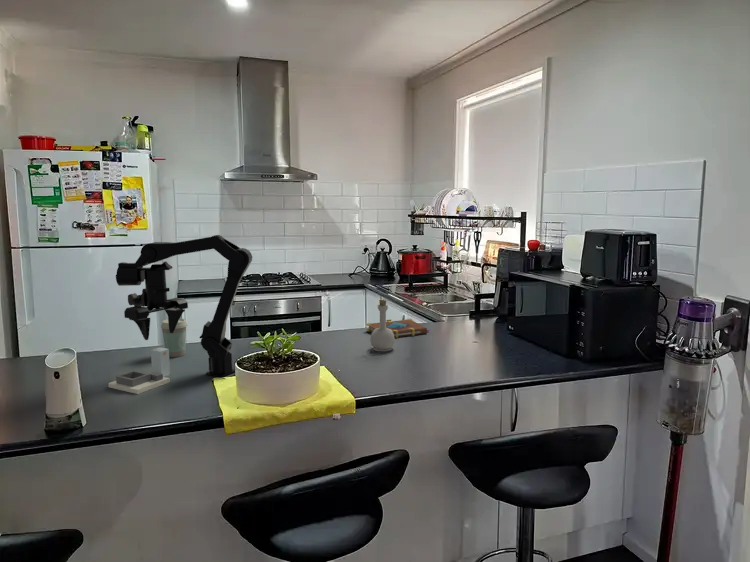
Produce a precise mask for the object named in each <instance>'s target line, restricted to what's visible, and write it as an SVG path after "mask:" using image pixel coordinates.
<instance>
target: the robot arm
mask: <svg viewBox="0 0 750 562" xmlns="http://www.w3.org/2000/svg"><path fill="white" fill-rule="evenodd" d="M140 249H141V250H140V255H139V257H138V258H137V260H136V261H135V262H125V261H124V262H119V263H117V269H116V275H115V280H116V283H117V285H118V286H119V287H120V286H121V287H123V286H124V287H126V286H127V287H128V286H141V285H142V283H143V282H144V284H145V288H142V292H141V294H137V293H136V292H133V293H130V294H128V295H127V302H128V305H130V306H129V307H126V308H125V309H124V315H123V316H124V318H125V319H129V321H133V322H134V323H135V324H136V326H137V327H138V329H139V330H140V333H141V335H142V337H143V340H144V341H148V340H149V339H150V337H149V336H150V328H151V326H150V325H151V317H149V316H150V314H153V313H156V312H161V311H164V312H165V313H166V314H167V319H168V323H169V331H170V333H173V332H174V330H175V328H176V325H177V323H178V321H179V319H180V318H181V317H182V314H183V313H184V312H185V311H186V309H189V302H188V301H187V300H186V299H185V298H177V297H175V298H174V297H173V298H169V299H168V293H167V292H170V287H167V279H166V278H167V276H166V271H170V270H172V269H173V266H172V265H170V263H169V262H167V260H166V259H169V258H173V257H174V256H179V255H184V254H191V253H197V252H203V251H209V250H215V251H216V252H218V254H219V255H221V256H222V257H223V258H224V259H226V260H227V261H228V262H227V263H228V265H227V276H226V279H225V283H224V286H223V290H222V292H221V295H220V298H219V300H218V303H217V305H216V306H217V307H216V309H215V311H214V312H215V313H214V315H213V317H212V320H211V321H209V320H208V321H207V322H205V324H204V325H203V328H202V333H201V335H200V336H199V339H200V345H201V347H202V349H204V351H206V353H207V355H208V370H209V371H206V373H205V375H208V376H214V377H218V378H223V377H225V376H228V375H230V374H233V373H236V372H235V370H236V369H233V357H232V353H231V352H230V351H231V349H232V346H233V343H232V341H230V340H229V339H228V338H226V332H227V331H226V330H227V321H228V317H229V314H230V312H231V309H232V306H233V302H234V300H235V298H236V294H237V292H238V288H239V286H240V283H241V280H242V278H243V277H244V275H245V273H246V272H247V270H248V269H249V266H251V263H252V261H253V255H252V253H251V251H250V250H249V249H247V248H246V247H245V248H244V247H239V246H238V245H237V244H235V243H233V242H231V241H230V240H228V239H226V238H224V237H223V236H222V235H220V234H215V235H212V236H206V237H202V238H195V239H189V240H183V241H177V242H171V241H169V242H168V241H167V242H166V241H154V242H150V243H146V244H144V245H143V246H142V247H141V248H140ZM163 260H166V261H163ZM160 261H163V262H162V263H160V264H159V263H158V264H157V262H160ZM148 265H151V266H150V267H147V266H148ZM145 266H146V267H145Z"/></svg>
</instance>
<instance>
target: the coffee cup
mask: <svg viewBox="0 0 750 562" xmlns="http://www.w3.org/2000/svg"><path fill="white" fill-rule="evenodd" d="M187 327H188V322H187V320H186V319H185V318H181V317H180V319H179V321H178V323H177V325H176V328H175V330H174V332H173V333H170V331H169V323H168V318H167V319H164V320H162V322H161V324H160V328H161V332H162V337H163V343H164V348H166V349H169V358H179V357H182V356H184V355H185V354H186V344H187V343H186V341H187V340H186V339H187Z"/></svg>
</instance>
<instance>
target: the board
mask: <svg viewBox="0 0 750 562" xmlns="http://www.w3.org/2000/svg"><path fill="white" fill-rule="evenodd" d="M115 379H116V380H113V381H111V382H108V388H111V389H115V390H119V391H123V392H127V393H131V394H135V395H139V394H143V393H145V392H147V391H151V390H153V389H155V388H158V387H161V386H162V385H166V384H169V383H170V382H171V379H170V377H167V376H165V377H163V374H161V373H156V372H155V373H147V372H144V371H138V370H131V371H128V372H126V373H122V374H120V375H116V376H115Z"/></svg>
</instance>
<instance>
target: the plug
mask: <svg viewBox="0 0 750 562" xmlns="http://www.w3.org/2000/svg"><path fill="white" fill-rule="evenodd" d="M150 360H151V372H152V373H155V372H156V373H161V374H163V377H167V376H170V375H171V365H170V364H171V363H170V357H169V349H166V348H165V347H156V348H153V349H150ZM152 373H151V374H152Z"/></svg>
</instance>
